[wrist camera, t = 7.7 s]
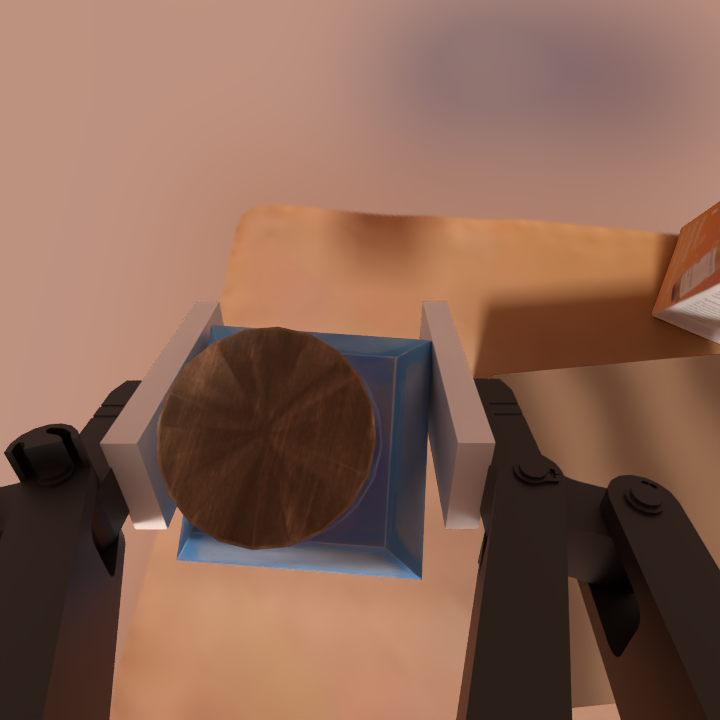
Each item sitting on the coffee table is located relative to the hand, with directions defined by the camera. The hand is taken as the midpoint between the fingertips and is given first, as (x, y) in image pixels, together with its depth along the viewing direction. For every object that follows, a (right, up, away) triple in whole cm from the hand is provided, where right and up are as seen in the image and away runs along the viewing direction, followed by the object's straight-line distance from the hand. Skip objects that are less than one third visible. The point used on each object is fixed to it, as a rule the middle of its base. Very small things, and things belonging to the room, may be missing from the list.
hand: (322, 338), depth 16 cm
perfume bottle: (0, -4, +3) cm, 5 cm away
